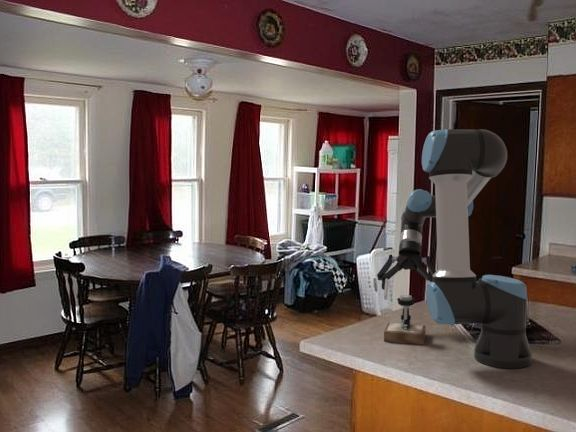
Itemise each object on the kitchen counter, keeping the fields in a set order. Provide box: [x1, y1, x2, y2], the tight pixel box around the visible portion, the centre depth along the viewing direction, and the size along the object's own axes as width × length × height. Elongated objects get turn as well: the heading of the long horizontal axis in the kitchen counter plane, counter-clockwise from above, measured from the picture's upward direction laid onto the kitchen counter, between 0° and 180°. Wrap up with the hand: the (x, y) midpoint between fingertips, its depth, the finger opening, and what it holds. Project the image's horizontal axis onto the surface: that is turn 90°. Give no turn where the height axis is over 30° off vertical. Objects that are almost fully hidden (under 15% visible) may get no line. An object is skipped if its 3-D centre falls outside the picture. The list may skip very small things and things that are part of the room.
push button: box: [397, 294, 415, 329], centre depth 181 cm, size 7×5×10 cm
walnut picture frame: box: [383, 322, 427, 345], centre depth 181 cm, size 12×10×3 cm
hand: (406, 298), depth 187 cm, fingers open, 13 cm apart
